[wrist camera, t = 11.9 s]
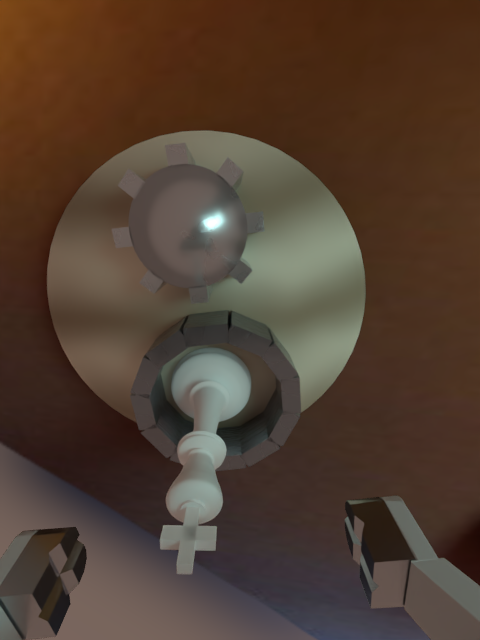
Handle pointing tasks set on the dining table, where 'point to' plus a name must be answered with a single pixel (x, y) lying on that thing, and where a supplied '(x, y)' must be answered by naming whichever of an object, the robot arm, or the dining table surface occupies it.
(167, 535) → the chess piece
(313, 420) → the dining table surface
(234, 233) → the sun gear
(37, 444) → the dining table surface
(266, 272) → the carrier plate
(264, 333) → the socket collar
